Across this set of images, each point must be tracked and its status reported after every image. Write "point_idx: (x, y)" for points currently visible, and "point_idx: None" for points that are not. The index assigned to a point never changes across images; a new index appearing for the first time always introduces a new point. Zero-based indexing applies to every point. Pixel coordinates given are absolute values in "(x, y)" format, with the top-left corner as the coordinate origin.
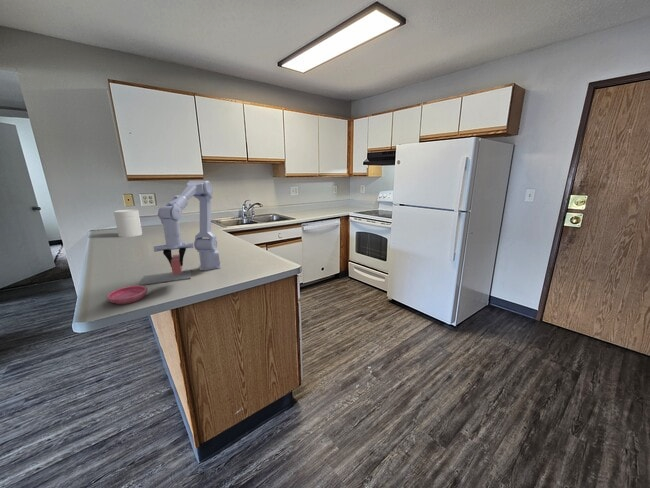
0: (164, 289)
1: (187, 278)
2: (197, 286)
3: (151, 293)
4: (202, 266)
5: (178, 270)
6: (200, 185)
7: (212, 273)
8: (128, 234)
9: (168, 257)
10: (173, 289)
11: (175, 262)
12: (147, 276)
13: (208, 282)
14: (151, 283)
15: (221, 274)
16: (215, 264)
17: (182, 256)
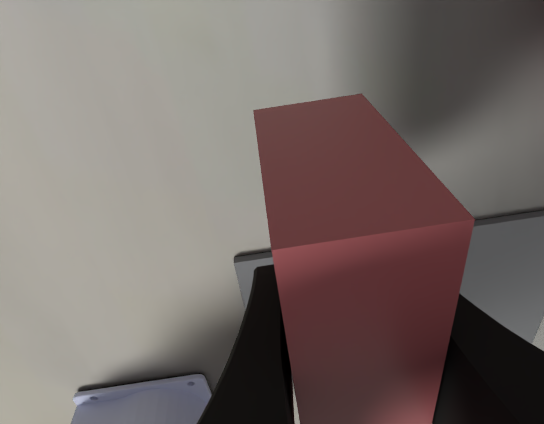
0: (409, 77)
1: (254, 258)
2: (112, 69)
3: (517, 2)
4: (189, 407)
5: (286, 127)
6: None
7: (93, 323)
8: None
9: (522, 367)
10: (331, 52)
11: (349, 199)
12: (515, 331)
13: (39, 149)
14: (502, 220)
15: (4, 296)
16: (98, 422)
17: (228, 400)
